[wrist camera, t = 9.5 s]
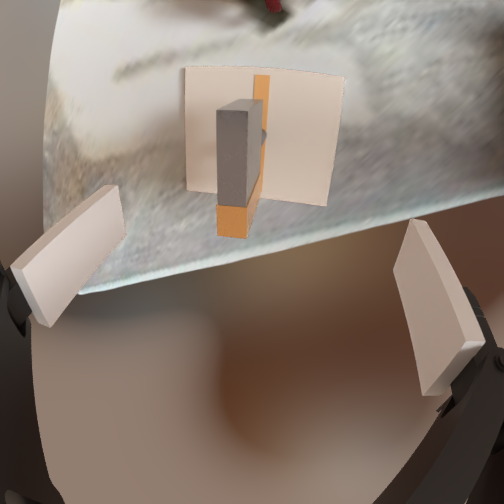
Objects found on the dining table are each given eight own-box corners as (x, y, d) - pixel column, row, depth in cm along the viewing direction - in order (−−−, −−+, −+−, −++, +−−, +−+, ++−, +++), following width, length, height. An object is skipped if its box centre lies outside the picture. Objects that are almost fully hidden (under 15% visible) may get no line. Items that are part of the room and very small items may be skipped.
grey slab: (238, 98, 28) (214, 110, 21) (264, 99, 28) (249, 110, 20) (237, 194, 34) (217, 235, 27) (260, 196, 34) (246, 238, 27)
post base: (344, 77, 32) (354, 78, 25) (325, 203, 42) (329, 232, 35) (188, 66, 34) (162, 67, 27) (189, 188, 44) (168, 212, 37)
